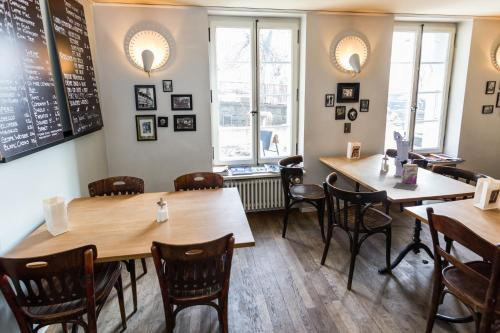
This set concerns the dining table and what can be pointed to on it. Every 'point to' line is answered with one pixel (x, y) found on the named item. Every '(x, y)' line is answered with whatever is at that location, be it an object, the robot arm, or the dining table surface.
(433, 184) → the dining table surface
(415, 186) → the mat
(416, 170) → the candy bar box
